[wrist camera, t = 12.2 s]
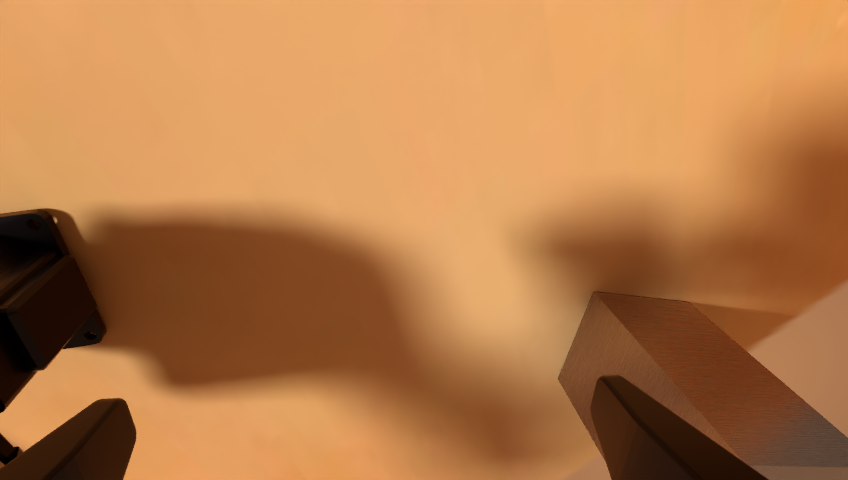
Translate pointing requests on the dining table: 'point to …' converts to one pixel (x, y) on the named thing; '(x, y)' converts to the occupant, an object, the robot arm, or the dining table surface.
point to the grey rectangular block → (701, 385)
